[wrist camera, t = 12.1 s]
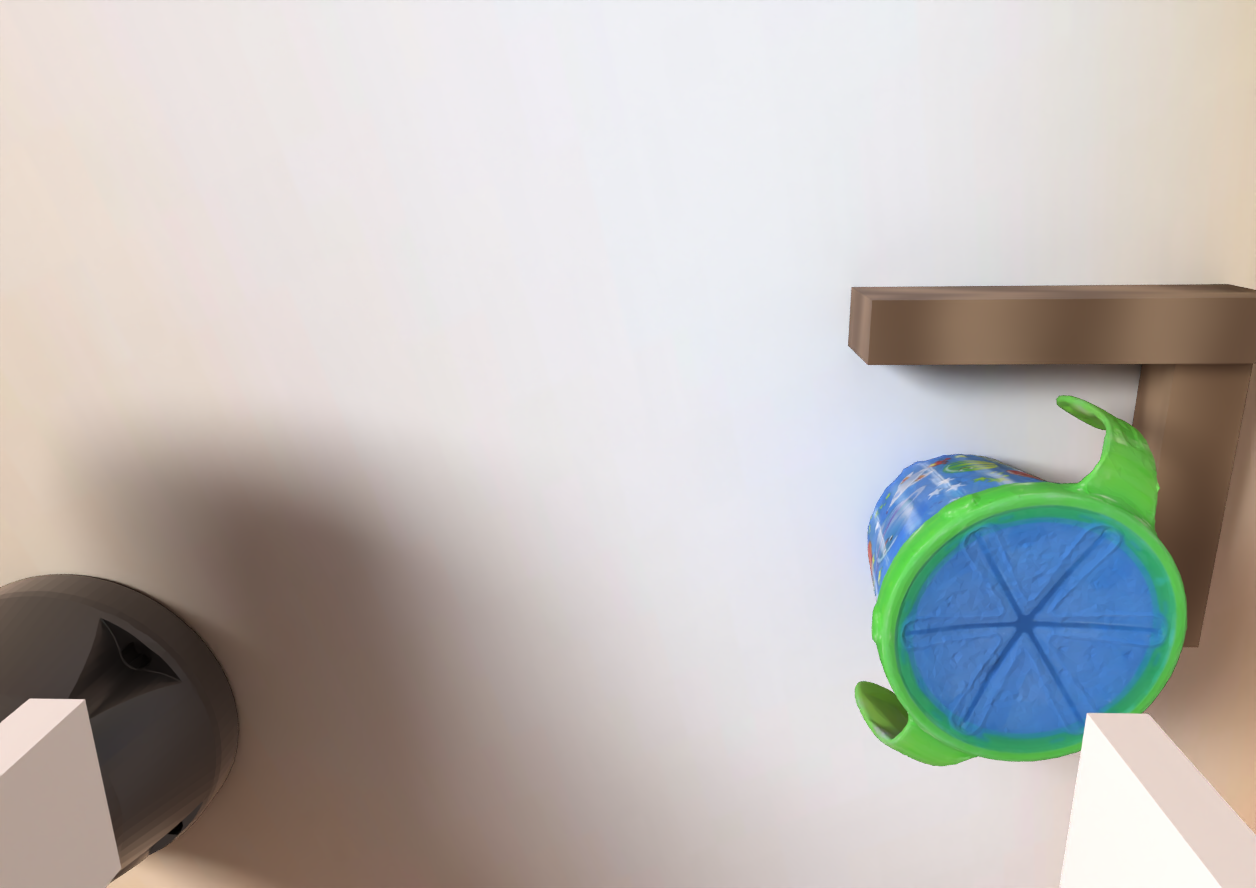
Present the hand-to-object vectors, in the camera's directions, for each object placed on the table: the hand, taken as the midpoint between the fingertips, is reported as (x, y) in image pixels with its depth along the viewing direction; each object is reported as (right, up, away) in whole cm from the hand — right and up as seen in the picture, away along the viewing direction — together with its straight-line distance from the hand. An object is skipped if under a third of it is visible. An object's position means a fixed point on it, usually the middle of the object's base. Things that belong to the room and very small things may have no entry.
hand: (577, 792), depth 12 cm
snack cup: (+15, +1, +29) cm, 33 cm away
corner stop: (+18, +4, +28) cm, 34 cm away
